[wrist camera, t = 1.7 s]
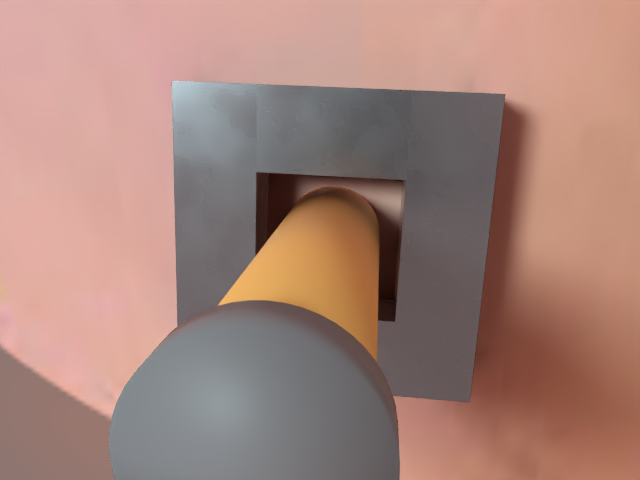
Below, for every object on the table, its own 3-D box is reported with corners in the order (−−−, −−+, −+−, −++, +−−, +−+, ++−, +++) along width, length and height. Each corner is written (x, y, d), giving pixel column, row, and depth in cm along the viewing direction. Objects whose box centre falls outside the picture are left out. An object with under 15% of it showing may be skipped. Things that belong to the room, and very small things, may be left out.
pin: (278, 173, 25) (100, 315, 9) (393, 180, 24) (411, 340, 9) (275, 282, 26) (116, 569, 10) (385, 290, 25) (389, 602, 10)
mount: (192, 81, 24) (171, 80, 22) (492, 93, 23) (505, 94, 20) (196, 351, 27) (178, 376, 25) (461, 373, 26) (469, 402, 23)
